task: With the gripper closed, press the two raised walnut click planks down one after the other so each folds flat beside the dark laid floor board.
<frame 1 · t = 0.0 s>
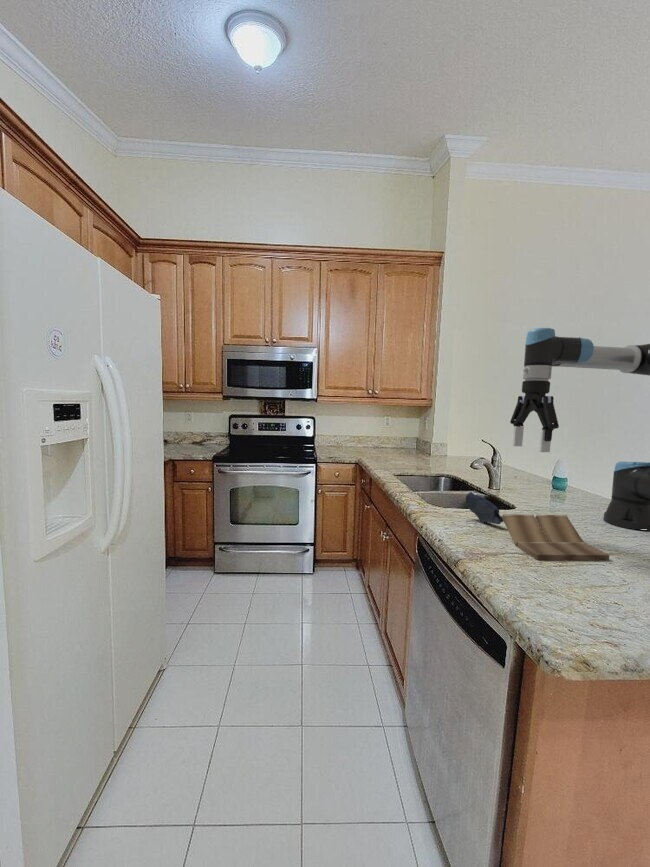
hand: (530, 449, 119), 28 cm above the countertop, tool pointing down, fingers open, 13 cm apart
plank b: (524, 529, 117), point 4 cm above the countertop, hinge at 35.0°
floor board: (561, 553, 108), on the countertop
stone: (482, 523, 133), on the countertop
plank a: (558, 529, 118), point 4 cm above the countertop, hinge at 35.0°
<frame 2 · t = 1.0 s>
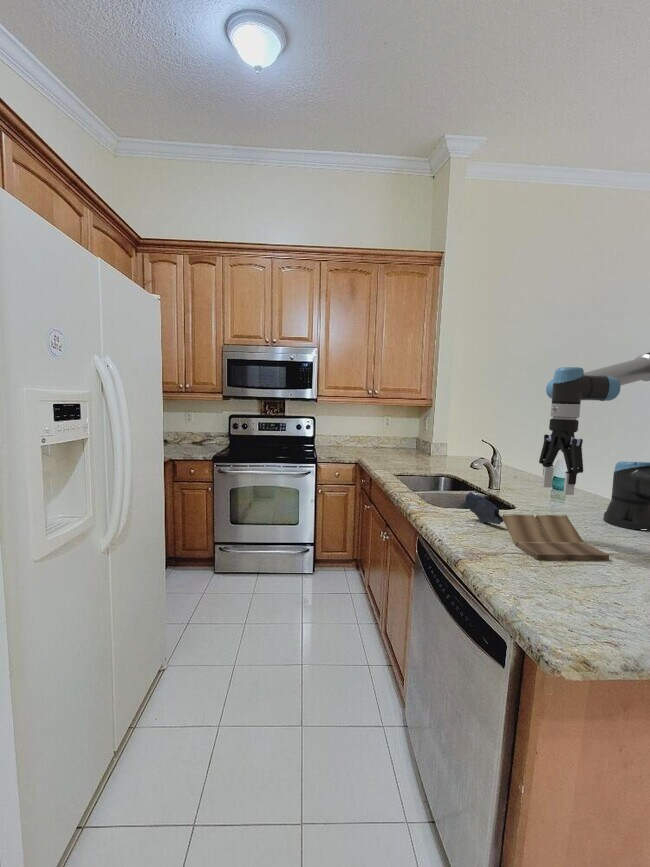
hand: (557, 490, 119), 15 cm above the countertop, tool pointing down, fingers open, 9 cm apart
nothing on the countertop moved.
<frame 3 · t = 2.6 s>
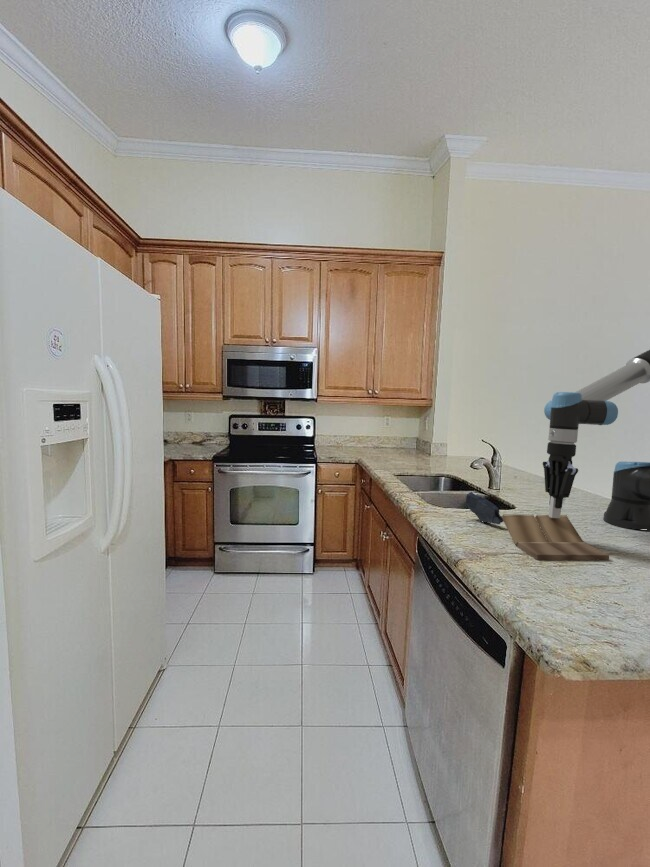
hand: (554, 517, 120), 7 cm above the countertop, tool pointing down, fingers closed
plank a: (558, 529, 118), point 4 cm above the countertop, hinge at 35.0°, touching gripper
everything else where it was.
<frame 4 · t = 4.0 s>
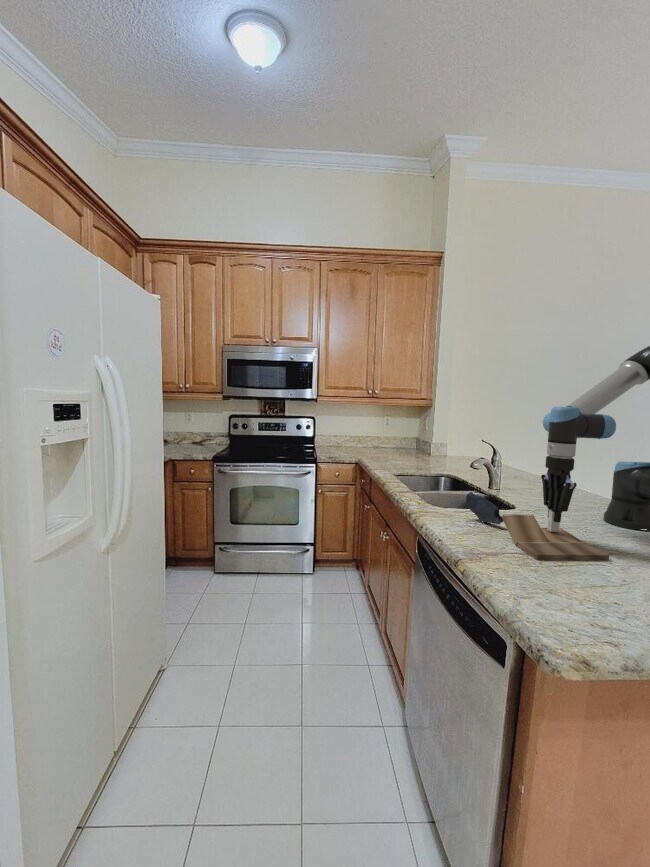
hand: (553, 530, 120), 3 cm above the countertop, tool pointing down, fingers closed
plank a: (556, 536, 119), point 1 cm above the countertop, hinge at 5.4°
everything else where it was.
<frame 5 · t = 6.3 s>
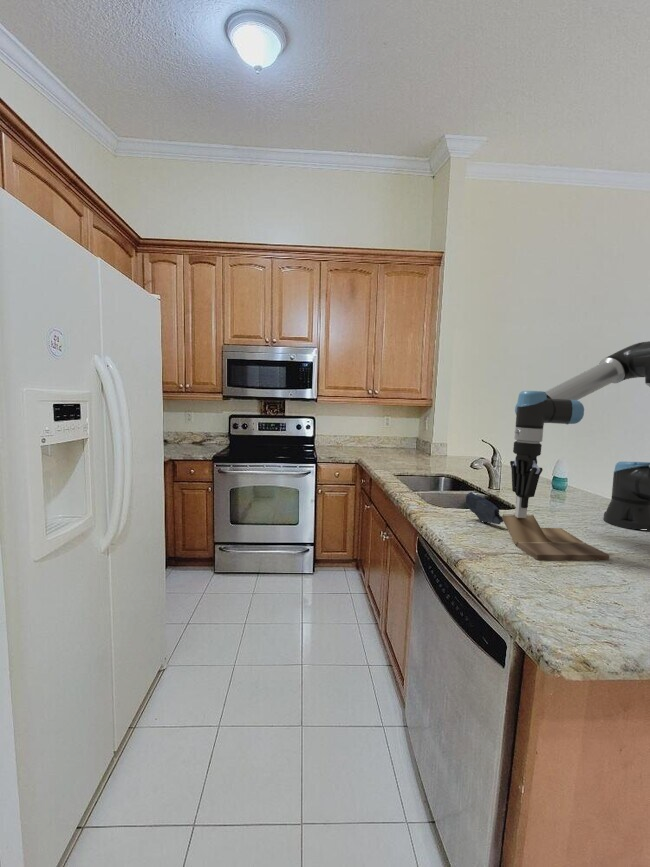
hand: (520, 517, 119), 7 cm above the countertop, tool pointing down, fingers closed
plank b: (524, 529, 117), point 4 cm above the countertop, hinge at 34.7°, touching gripper
everything else where it was.
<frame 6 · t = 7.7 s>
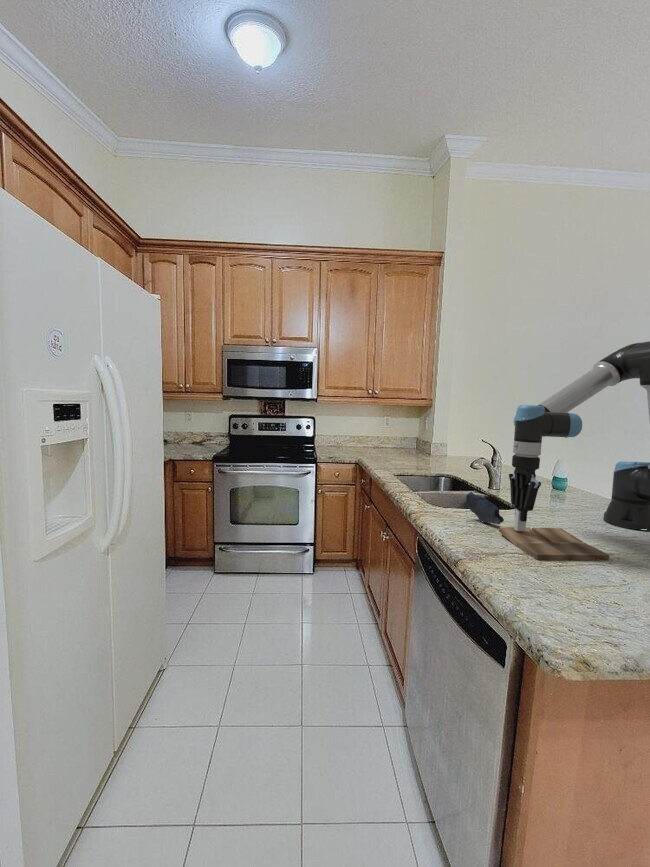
hand: (519, 530, 119), 3 cm above the countertop, tool pointing down, fingers closed
plank b: (522, 536, 118), point 1 cm above the countertop, hinge at 5.8°
everything else where it was.
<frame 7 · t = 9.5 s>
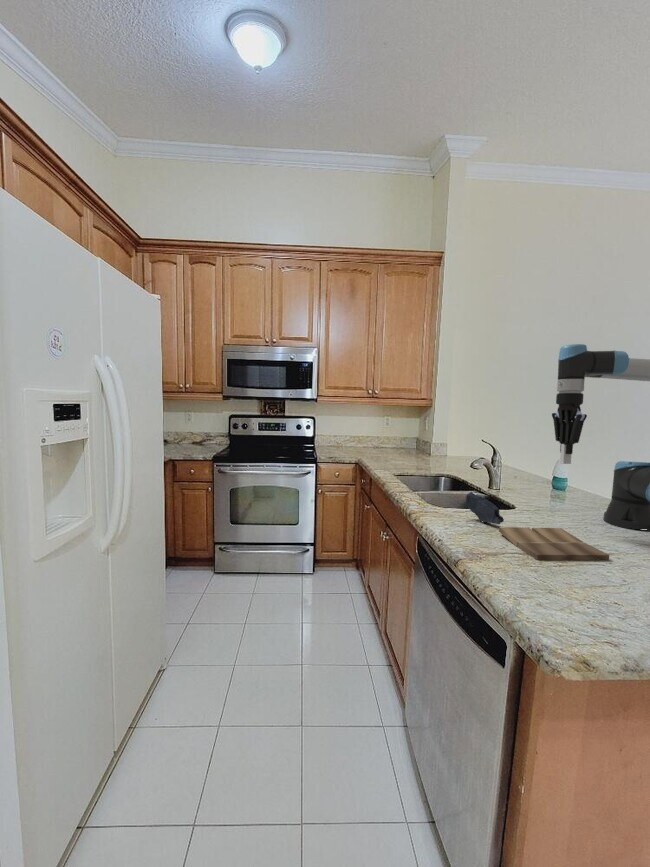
hand: (565, 463, 128), 23 cm above the countertop, tool pointing down, fingers closed
nothing on the countertop moved.
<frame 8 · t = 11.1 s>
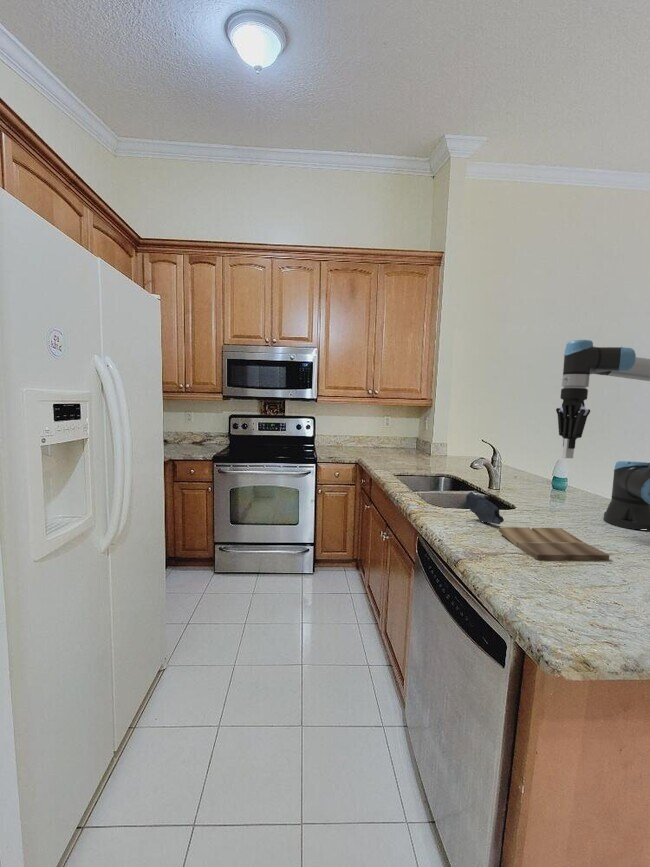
hand: (567, 457, 129), 24 cm above the countertop, tool pointing down, fingers closed
nothing on the countertop moved.
at the end: plank a at +5° (first picture: +35°); plank b at +6° (first picture: +35°) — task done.
